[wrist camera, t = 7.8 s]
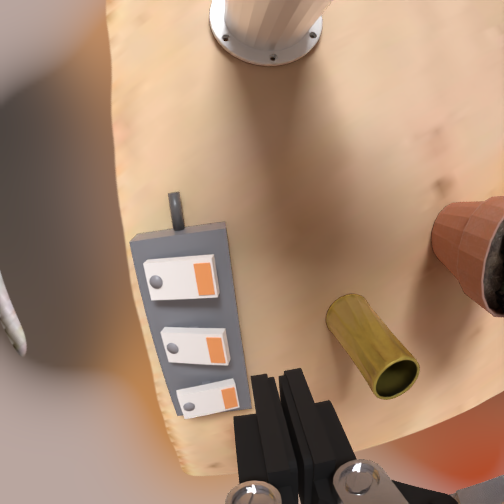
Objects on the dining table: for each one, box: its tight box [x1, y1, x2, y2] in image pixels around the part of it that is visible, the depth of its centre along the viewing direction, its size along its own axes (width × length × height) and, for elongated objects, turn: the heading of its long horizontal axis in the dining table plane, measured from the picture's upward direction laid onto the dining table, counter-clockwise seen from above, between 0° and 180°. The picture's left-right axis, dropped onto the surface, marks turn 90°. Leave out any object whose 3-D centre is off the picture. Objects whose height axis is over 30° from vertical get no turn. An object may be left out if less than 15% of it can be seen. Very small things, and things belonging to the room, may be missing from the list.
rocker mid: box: [161, 327, 230, 365], centre depth 34 cm, size 4×7×1 cm, turn 96°
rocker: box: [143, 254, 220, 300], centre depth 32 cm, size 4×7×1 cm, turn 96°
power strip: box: [130, 192, 252, 416], centre depth 36 cm, size 28×10×4 cm, turn 6°
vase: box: [326, 294, 420, 400], centre depth 34 cm, size 6×6×14 cm
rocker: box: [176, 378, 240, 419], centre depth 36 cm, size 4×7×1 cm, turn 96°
